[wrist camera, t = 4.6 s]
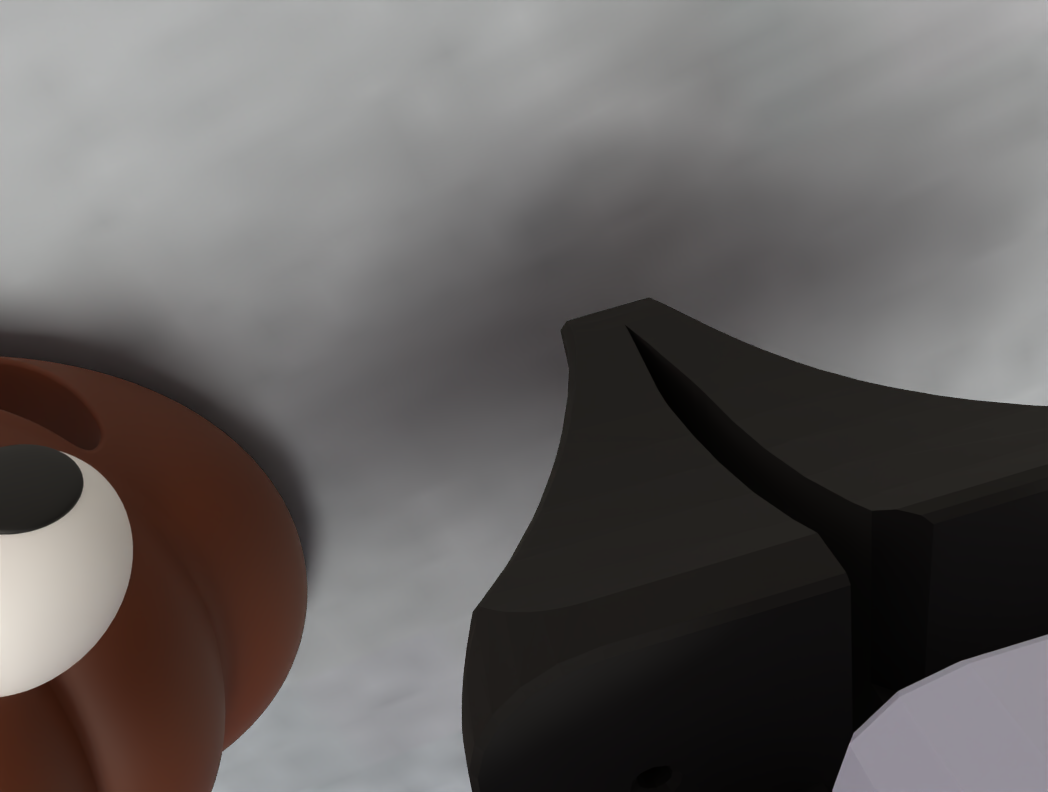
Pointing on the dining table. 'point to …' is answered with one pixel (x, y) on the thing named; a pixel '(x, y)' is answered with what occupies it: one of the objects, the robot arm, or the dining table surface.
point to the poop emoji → (133, 586)
